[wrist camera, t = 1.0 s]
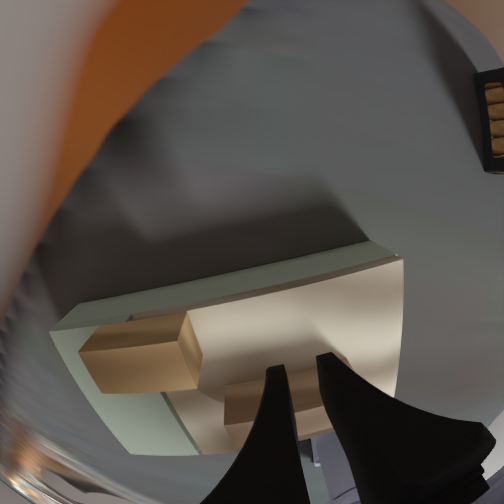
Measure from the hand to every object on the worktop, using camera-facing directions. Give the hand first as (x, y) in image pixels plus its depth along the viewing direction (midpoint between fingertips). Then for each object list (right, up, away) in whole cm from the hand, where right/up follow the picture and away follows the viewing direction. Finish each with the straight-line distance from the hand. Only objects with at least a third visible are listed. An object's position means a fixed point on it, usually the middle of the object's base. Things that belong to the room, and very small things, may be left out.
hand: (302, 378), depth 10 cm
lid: (0, -4, +8) cm, 8 cm away
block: (-8, 0, +5) cm, 10 cm away
